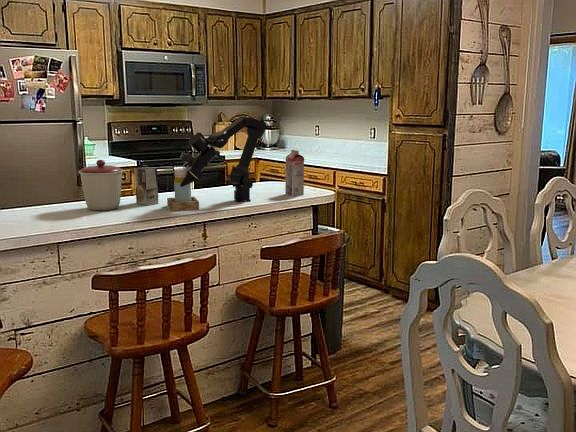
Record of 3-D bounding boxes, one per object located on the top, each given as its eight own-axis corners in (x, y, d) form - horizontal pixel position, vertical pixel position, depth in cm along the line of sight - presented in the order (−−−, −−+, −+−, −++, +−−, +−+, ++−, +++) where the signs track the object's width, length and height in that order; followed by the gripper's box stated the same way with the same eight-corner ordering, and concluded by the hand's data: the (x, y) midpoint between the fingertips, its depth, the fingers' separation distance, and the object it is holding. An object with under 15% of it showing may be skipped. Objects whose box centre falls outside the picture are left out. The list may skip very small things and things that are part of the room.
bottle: (188, 205, 242) (186, 170, 238) (172, 204, 243) (170, 170, 239) (193, 201, 248) (192, 168, 245) (178, 201, 250) (177, 167, 246)
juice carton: (292, 196, 276) (292, 151, 271) (285, 193, 282) (285, 149, 277) (303, 194, 279) (304, 150, 275) (296, 192, 285) (297, 149, 280)
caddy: (194, 204, 253) (194, 196, 252) (199, 209, 242) (198, 201, 241) (167, 205, 249) (167, 197, 248) (170, 210, 238) (170, 202, 237)
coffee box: (159, 203, 253) (157, 168, 250) (146, 205, 249) (145, 169, 245) (147, 201, 259) (146, 166, 256) (135, 202, 255) (133, 167, 251)
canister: (94, 214, 229) (91, 163, 225) (73, 208, 241) (69, 159, 237) (133, 208, 242) (131, 159, 238) (111, 203, 254) (108, 156, 250)
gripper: (187, 143, 250) (163, 169, 249) (194, 147, 232) (168, 175, 231) (205, 160, 254) (181, 186, 253) (213, 166, 237) (188, 193, 236)
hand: (179, 184), depth 243 cm, fingers closed on bottle, 7 cm apart
